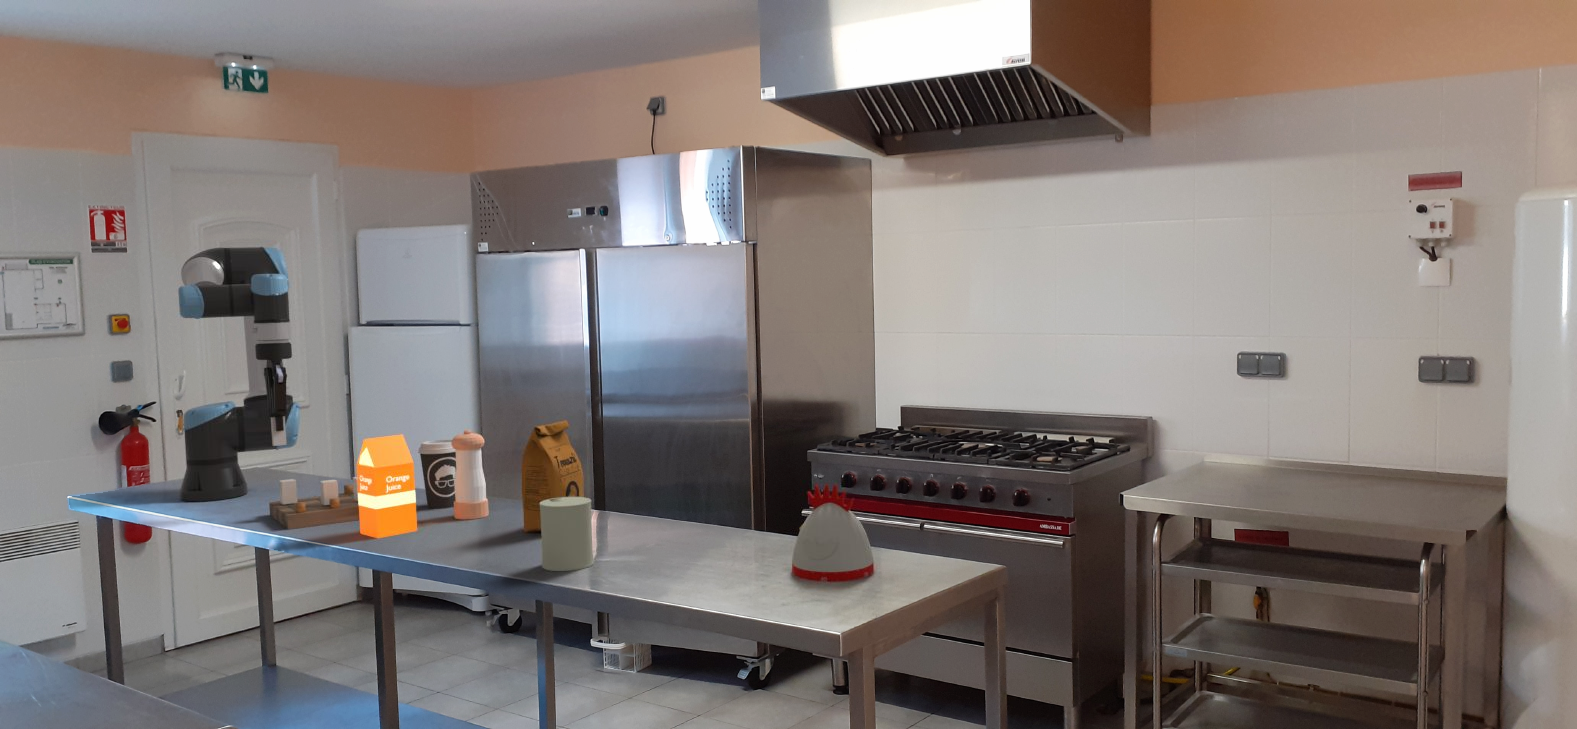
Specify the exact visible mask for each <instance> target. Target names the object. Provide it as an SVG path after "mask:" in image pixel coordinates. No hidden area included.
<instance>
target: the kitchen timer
mask: <svg viewBox="0 0 1577 729" xmlns="http://www.w3.org/2000/svg"><path fill="white" fill-rule="evenodd" d="M846 493H847V492H846V490H844V491H842V493H841V494H840V496H839V491H838V485H837V484H836V483H835V484H833V486H832V491H831V492H830V488H829V483H827V484H826V483H825V486H824V489H823V494H822V493H821V490H820V487H819V485H818V484H815V485H814V495H813V494H812V492H811V491H810V490H809V491H806V494H807V498H808V500H809V502H810V503H811V506H812V507H813V511H812V512H810V514H809V515H808V516H807V517H806V519H804V523H803V524H802V525H801V526H800V527H799V528H798V529H799V533H798V535H797V537H796V538H797V539H796V542H795V545H794V549H793V553H792V562H791V572H792V574H793V576H795V577H796V578H799V579H802V580H805V581H811V582H812V581H814V582H825V583H826V582H829V583H834V582H837V583H838V582H848V581H856V580H860V579H864V578H866V577H869V576H871V575H873V573H874V570H875V568H874V563H875V562H874V554H873V550H872V547H871V544H870V541H869V537H868V535H867V532H866V530H865V528H864V526H863V524H862V523H861V521H860V519H859V518H858V517H857V516H856V515H855V513H854V512H853V511H851V508H852V506H853V503H854V500H855V499H854V497H852V498H851V499H850V500H849V502H848V503H847V504H845V498H846Z"/></svg>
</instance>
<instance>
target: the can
mask: <svg viewBox="0 0 1577 729" xmlns="http://www.w3.org/2000/svg"><path fill="white" fill-rule="evenodd" d="M539 505H540V516H541V532H540V533H541V535H540V536H541V556H542V558H541V559H542V562H541V568H542V569H543V570H545V571H551V572H572V571H579V570H585V569H587V568H590V567H591V566H593V565H594V564H595V560H594V550H593V525H592V499H590V498H589V497H585V496H584V497H560V498H552V499H547V500H544V501H541V502H540V503H539Z"/></svg>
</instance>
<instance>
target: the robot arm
mask: <svg viewBox="0 0 1577 729" xmlns="http://www.w3.org/2000/svg"><path fill="white" fill-rule="evenodd" d="M180 272H181V273H180V274H181V275H180V277H181V282H182V283H183V285H181V286H179V288H178V289H177V291H178V305H179V315H180V317H181V318H183V319H196V320H198V319H209V318H211V319H212V318H213V319H214V318H232V317H233V318H234V317H235V318H237V317H238V318H239V317H243V326H244V339H245V352H246V353H245V354H246V364H247V365H246V366H247V367H246V368H247V378H248V379H247V380H248V394H247V395H246V396H245V397H244V398H243V399H242V400H243V406H236V404H235V402H234V401H231V400H230V401H223V402H215V403H209V404H204V405H200V406H195V407H192V408H190V409H188V410H186V411H185V412H184V414H183V428H182V430H183V432H184V448H185V465H186V469H185V473H184V476H183V480H182V482H181V486H180V490H179V491H180V492H179V493H180V494H179V495H180V496H179V497H180V500H181V501H184V502H185V501H186V502H205V501H206V502H208V501H218V500H226V499H227V500H228V499H232V498H237V497H240V496H241V497H242V496H244V495H247V494H248V490H249V488H248V483H247V481H246V479H245V476H244V473H243V471H242V469H241V467H240V465H239V457H238V454H239V453H246V452H258V451H269V450H275V451H278V450H281V449H288V448H292V447H294V446H296V444H297V442H298V437H299V430H300V428H299V426H300V418H301V417H300V414H301V410H300V407H301V405H300V403H299V402H296V401H294V398H293V395H292V394H291V393H290V392H289V391H287V378H288V374H287V368H286V367H285V366H284V360H289V359H291V358H292V357H293V351H292V343H291V342H290V340H291V339H292V330H291V328H292V326H291V321H290V304H289V303H290V301H289V289H290V280H289V273H288V272H289V271H288V268H287V264H286V260H285V256H284V253H283V252H282V251H281V250H280V249H279V248H277V247H267V246H266V247H265V246H258V247H257V246H255V247H251V246H250V247H213V248H209V249H205V250H202V251H199V252H198V253H195V254H194V255H192V256H191V257H189V258H188V259H186V261H185V262H184V264H183V266H182V267H181V271H180Z"/></svg>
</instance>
